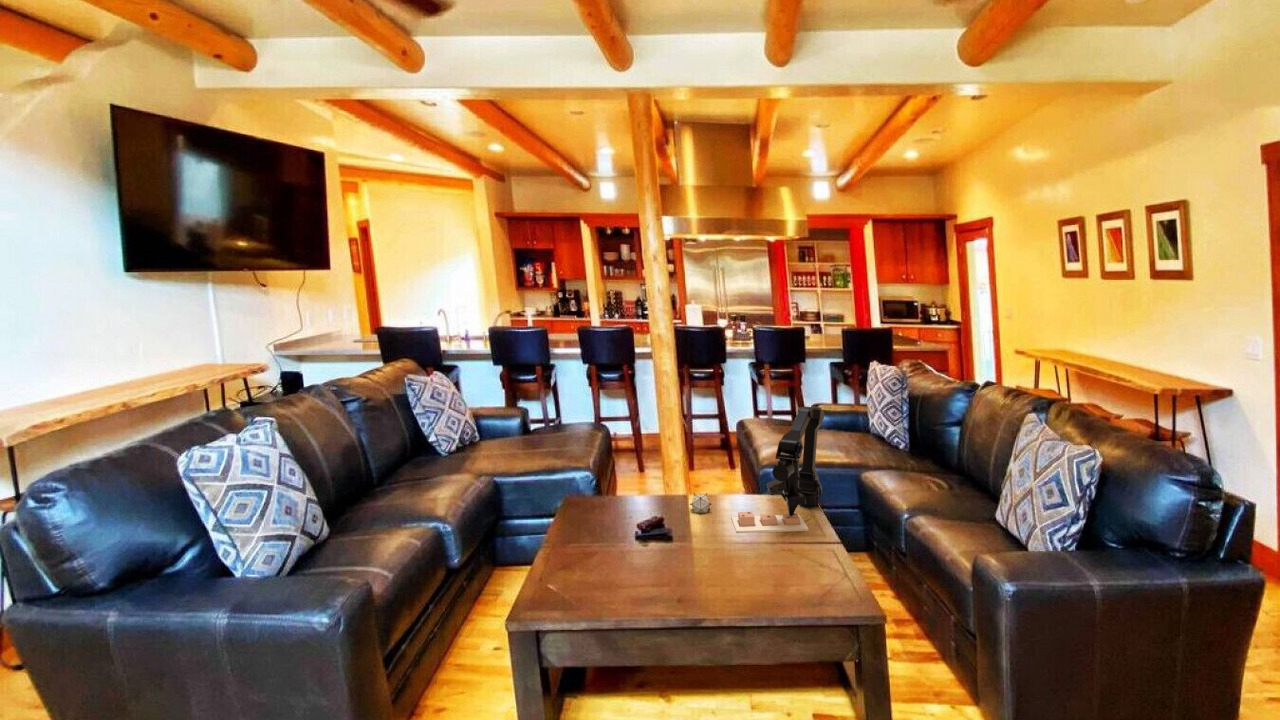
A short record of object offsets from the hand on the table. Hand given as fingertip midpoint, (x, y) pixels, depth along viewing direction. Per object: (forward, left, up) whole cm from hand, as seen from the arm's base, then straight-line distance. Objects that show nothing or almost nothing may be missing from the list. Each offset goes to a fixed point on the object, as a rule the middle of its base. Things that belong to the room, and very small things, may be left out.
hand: (791, 515), depth 216 cm
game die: (+31, -15, -5) cm, 35 cm away
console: (+8, 0, -4) cm, 9 cm away
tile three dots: (0, 0, -4) cm, 4 cm away
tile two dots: (+16, 0, -3) cm, 16 cm away
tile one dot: (+8, 0, -4) cm, 9 cm away
